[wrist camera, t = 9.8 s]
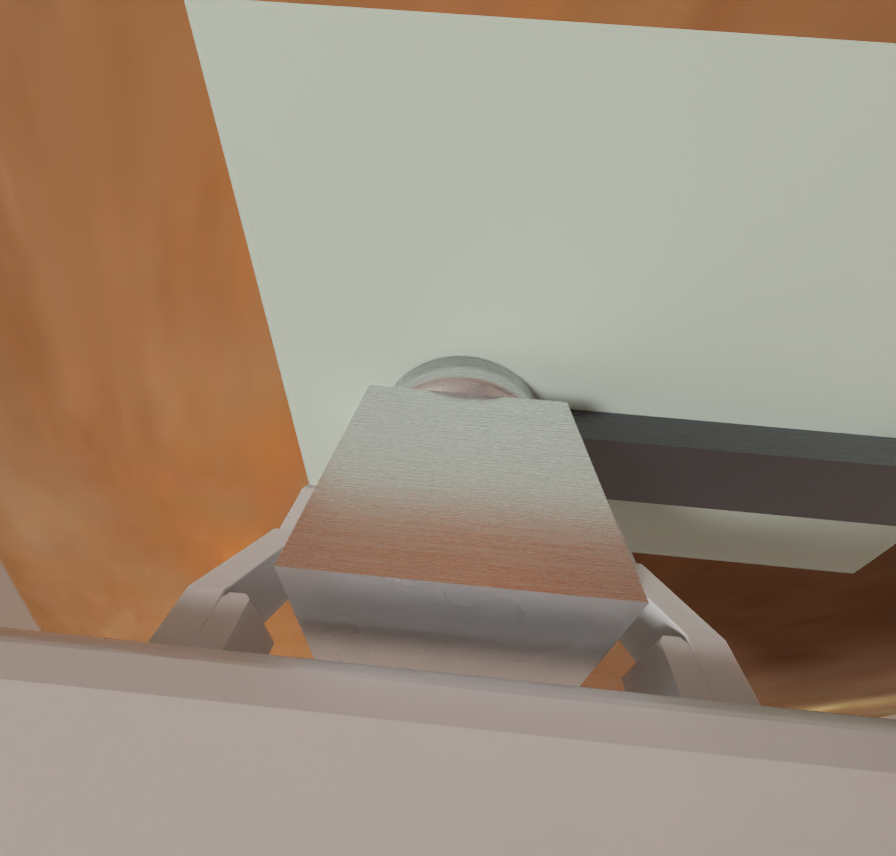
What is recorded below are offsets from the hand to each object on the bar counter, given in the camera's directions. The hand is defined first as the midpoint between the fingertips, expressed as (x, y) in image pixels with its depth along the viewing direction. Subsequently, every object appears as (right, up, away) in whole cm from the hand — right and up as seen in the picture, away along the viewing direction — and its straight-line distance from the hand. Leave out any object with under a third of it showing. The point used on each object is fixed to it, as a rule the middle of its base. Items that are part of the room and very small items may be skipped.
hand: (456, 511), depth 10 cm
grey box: (0, +1, +2) cm, 2 cm away
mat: (+7, +4, +3) cm, 9 cm away
